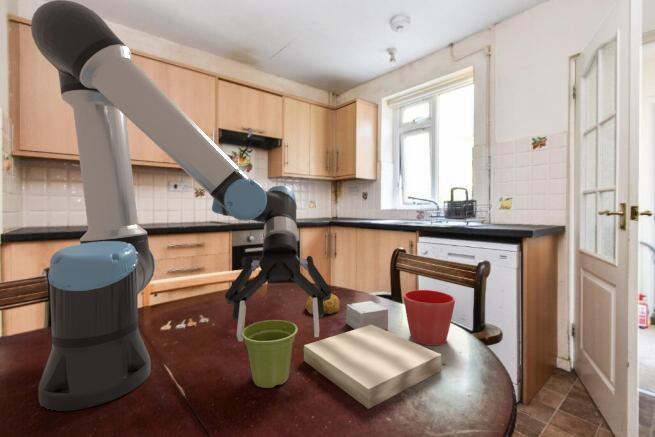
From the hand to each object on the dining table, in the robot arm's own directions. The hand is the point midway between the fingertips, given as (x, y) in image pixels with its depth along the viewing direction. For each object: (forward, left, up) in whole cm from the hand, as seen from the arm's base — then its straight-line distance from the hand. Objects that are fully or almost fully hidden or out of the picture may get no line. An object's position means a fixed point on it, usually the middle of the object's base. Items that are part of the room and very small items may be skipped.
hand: (278, 336), depth 55 cm
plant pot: (-2, -1, -7) cm, 7 cm away
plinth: (+15, -8, -7) cm, 18 cm away
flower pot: (+34, -7, -7) cm, 35 cm away
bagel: (+26, +24, -7) cm, 36 cm away
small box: (+28, +7, -7) cm, 30 cm away
